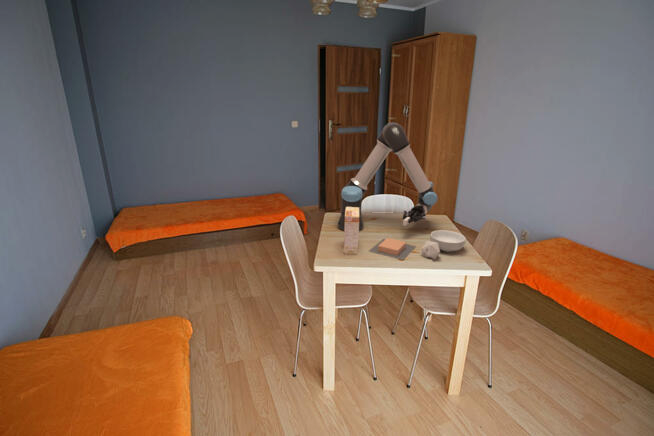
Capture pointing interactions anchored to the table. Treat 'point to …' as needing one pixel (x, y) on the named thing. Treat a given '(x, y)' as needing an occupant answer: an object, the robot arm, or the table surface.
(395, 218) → the table surface
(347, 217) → the coffeecake box
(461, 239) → the cereal bowl
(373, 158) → the robot arm
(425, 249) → the die
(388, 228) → the table surface
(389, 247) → the salmon orange block
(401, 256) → the mat
